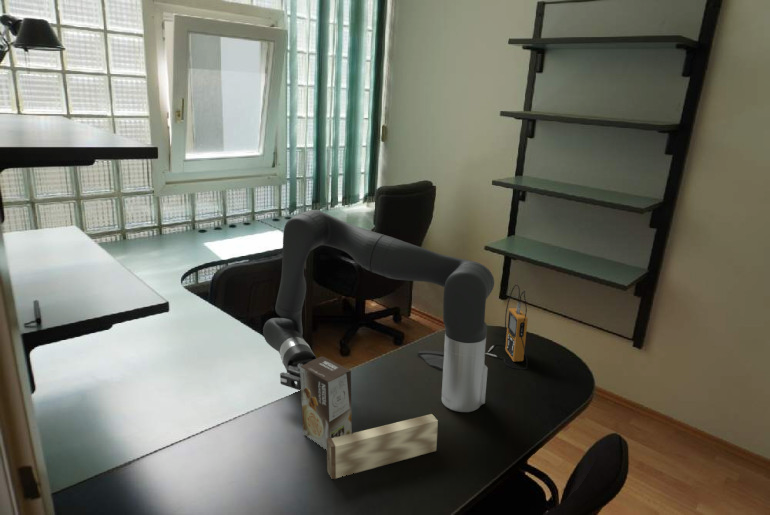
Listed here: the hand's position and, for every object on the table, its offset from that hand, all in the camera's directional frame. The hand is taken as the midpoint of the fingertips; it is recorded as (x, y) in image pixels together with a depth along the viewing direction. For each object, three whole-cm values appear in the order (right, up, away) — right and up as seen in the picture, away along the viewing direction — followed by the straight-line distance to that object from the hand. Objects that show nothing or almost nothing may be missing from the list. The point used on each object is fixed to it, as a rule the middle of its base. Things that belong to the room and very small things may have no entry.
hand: (317, 392), depth 112 cm
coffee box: (+3, -8, -4) cm, 10 cm away
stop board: (+14, -10, -11) cm, 21 cm away
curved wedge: (+31, 0, +28) cm, 41 cm away
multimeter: (+47, +2, +31) cm, 56 cm away
